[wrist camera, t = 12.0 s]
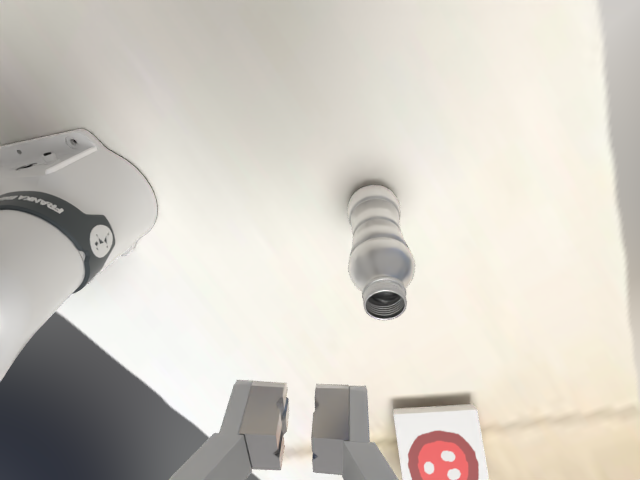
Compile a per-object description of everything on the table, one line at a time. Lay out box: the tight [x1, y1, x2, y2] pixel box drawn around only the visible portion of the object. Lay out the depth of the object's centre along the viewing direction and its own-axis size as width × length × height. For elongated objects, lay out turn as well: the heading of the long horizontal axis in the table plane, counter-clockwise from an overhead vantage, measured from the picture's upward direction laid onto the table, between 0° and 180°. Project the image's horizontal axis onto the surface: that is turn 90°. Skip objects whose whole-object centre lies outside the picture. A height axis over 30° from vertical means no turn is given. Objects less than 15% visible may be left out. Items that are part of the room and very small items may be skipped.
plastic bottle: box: [347, 185, 415, 320], centre depth 40 cm, size 6×7×20 cm
